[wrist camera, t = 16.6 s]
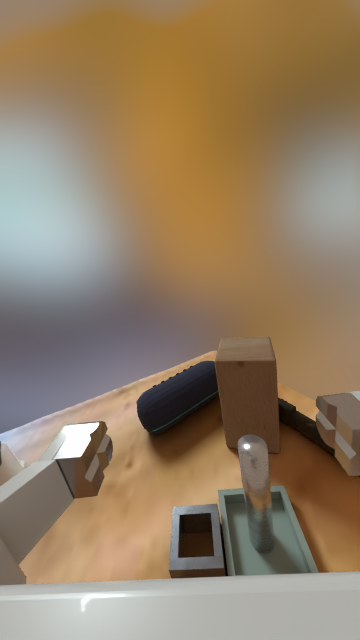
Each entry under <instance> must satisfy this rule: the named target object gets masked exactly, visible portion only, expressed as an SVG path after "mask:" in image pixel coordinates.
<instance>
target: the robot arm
mask: <svg viewBox="0 0 360 640" xmlns="http://www.w3.org/2000/svg"><path fill="white" fill-rule="evenodd" d="M316 406H317V408H318V409H319V410H320V411H319V412H318V414H317V415H316V425H317V428H318V432H319V434H320V436H321V438H322V439H323V440H324V442H325V443H326V444H327V445H328V446H330V447H332V448H333V449H335V457H336V459H337V460H338V461H339V463H340V464H341V465H342V467H343V468H344V470H345V471H346V472H347V474H348V475H349V476H359V475H360V391H354V392H347V393H341V394H333V395H324V396H318V397H317V399H316ZM106 431H107V426H106V424H105V422H103V421H97V422H85V423H77V424H67V425H66V426H64V427H63V428H62V430H61V431H60V432H59V434H58V435H57V436H56V438H55V439H54V440H53V442H52V443H51V444H50V446H49V447H48V448H47V450H46V451H45V452H44V454H43V455H42V457H41V458H40V459H39V461H38V462H33V463H32V464H30V465H29V466H28V467H27V464H26V462H25V461H24V460H20V461H18V459H17V458H16V456H15V455H14V454H13V452H12V451H11V450H10V448H9V447H8V446H7V444H6V443H4V442H2V443H1V442H0V640H360V571H358V572H331V573H305V574H278V575H252V576H226V577H200V578H175V579H149V580H124V581H98V582H73V583H47V584H26V576H25V575H24V573H23V571H22V570H21V568H20V567H19V564H20V562H21V561H22V560H23V559H24V558H25V557H26V555H27V554H28V553H29V552H30V551H31V550H32V548H33V547H34V546H35V545H36V544H37V543H38V541H39V540H40V539H41V538H42V537H43V536H44V534H45V533H46V532H47V531H48V530H49V529H50V528H51V526H52V525H53V524H54V523H55V522H56V521H57V519H58V518H59V517H60V516H61V515H62V514H63V512H64V511H65V510H66V509H67V508H68V507H69V505H70V504H71V503H72V502H73V501H74V499H75V498H84V497H92V496H97V495H98V492H99V489H100V487H101V484H102V482H103V479H104V477H105V476H104V473H103V470H104V469H105V468H106V467H107V466H108V465H109V464H110V461H111V458H112V452H113V445H112V440H111V437H109V436H108V435H107V434H105V433H106Z"/></svg>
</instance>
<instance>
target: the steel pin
mask: <svg viewBox="0 0 360 640" xmlns="http://www.w3.org/2000/svg"><path fill="white" fill-rule="evenodd" d="M238 453H239V461H240V468H241V476H242V484H243V492H244V500H245V508H246V515H247V523H248V531H249V538H250V542H251V544H252V545H253V547H254V548H255V549H256V550H257V551H258V552H260V553H264V554H267V553H269V552H271V551H272V550H273V548H274V543H275V542H274V528H273V515H272V501H271V488H270V474H269V461H268V448H267V444H266V442H265V441H264V440H263V439H262V438H260V437H259V436H256V435H251V434H250V435H245V436H243V437H241V438H240V439H239V441H238Z"/></svg>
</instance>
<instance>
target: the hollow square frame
mask: <svg viewBox="0 0 360 640" xmlns="http://www.w3.org/2000/svg"><path fill="white" fill-rule="evenodd" d="M197 532H212V534H213V546H214V556H209V557H188V558H184V533H197ZM169 572H170V575H171V578H172V579H175V578H200V577H226V567H225V558H224V549H223V541H222V532H221V523H220V517H219V512H218V506H217V504H209V505H195V506H181V507H173V516H172V531H171V547H170V562H169Z"/></svg>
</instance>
